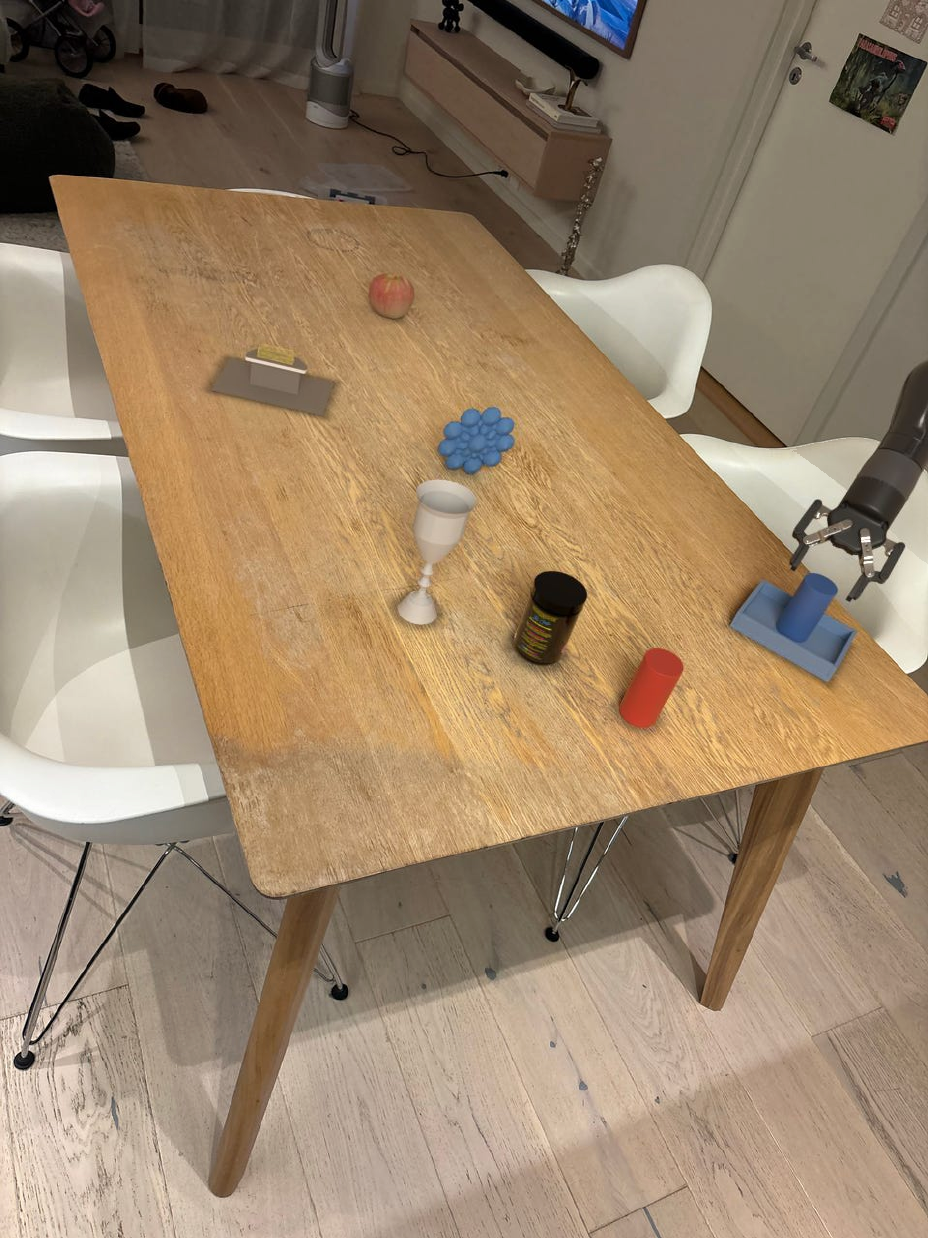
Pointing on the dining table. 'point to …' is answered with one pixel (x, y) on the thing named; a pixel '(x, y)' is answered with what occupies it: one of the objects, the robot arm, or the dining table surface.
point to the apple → (391, 295)
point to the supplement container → (549, 617)
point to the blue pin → (806, 607)
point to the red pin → (651, 687)
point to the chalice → (435, 538)
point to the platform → (274, 381)
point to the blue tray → (811, 655)
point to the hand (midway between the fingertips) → (820, 584)
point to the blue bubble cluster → (476, 440)
